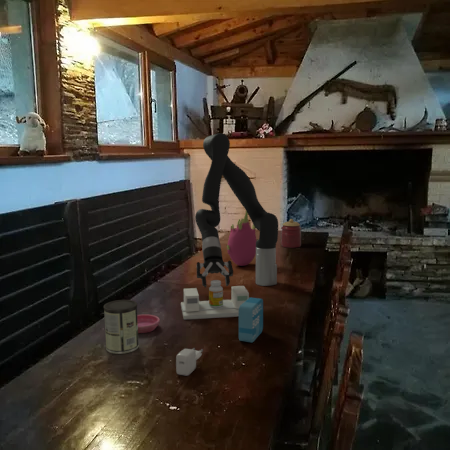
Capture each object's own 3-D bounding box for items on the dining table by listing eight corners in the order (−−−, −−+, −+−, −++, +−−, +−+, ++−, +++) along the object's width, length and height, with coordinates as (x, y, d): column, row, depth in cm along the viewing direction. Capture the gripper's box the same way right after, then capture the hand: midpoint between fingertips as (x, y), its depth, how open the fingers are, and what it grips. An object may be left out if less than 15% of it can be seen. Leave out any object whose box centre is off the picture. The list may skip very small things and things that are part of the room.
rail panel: (244, 302, 197) (244, 283, 196) (253, 315, 181) (253, 295, 180) (180, 305, 193) (180, 286, 192) (183, 319, 178) (183, 298, 176)
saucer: (125, 337, 162) (125, 328, 161) (122, 324, 174) (122, 315, 173) (162, 333, 165) (162, 324, 165) (157, 320, 177) (157, 312, 176)
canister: (281, 243, 319) (281, 217, 316) (300, 244, 317) (301, 217, 314) (280, 247, 306) (280, 220, 303) (301, 248, 304) (301, 220, 301)
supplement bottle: (208, 303, 190) (208, 279, 188) (222, 303, 190) (222, 279, 189) (209, 308, 184) (209, 283, 183) (223, 307, 185) (223, 283, 183)
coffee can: (116, 339, 159) (115, 298, 157) (144, 343, 156) (143, 301, 154) (98, 351, 150) (96, 307, 148) (128, 356, 146) (126, 311, 144)
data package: (251, 344, 155) (251, 308, 153) (238, 342, 157) (238, 306, 155) (263, 331, 166) (263, 297, 164) (250, 329, 168) (250, 296, 166)
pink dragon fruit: (253, 261, 268) (253, 208, 264) (262, 267, 256) (262, 210, 251) (222, 264, 263) (222, 209, 258) (230, 270, 250) (230, 212, 246)
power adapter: (191, 358, 144) (190, 340, 143) (206, 361, 143) (205, 342, 142) (173, 374, 134) (173, 354, 133) (189, 377, 132) (189, 357, 131)
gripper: (195, 246, 191) (198, 282, 182) (230, 244, 194) (235, 280, 184) (193, 256, 197) (197, 291, 188) (228, 254, 200) (233, 289, 190)
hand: (216, 285), depth 186 cm, fingers open, 8 cm apart
